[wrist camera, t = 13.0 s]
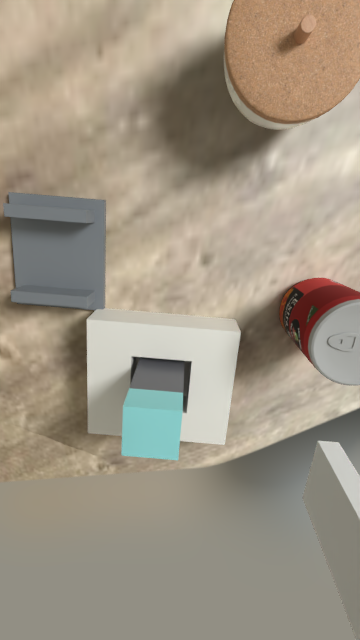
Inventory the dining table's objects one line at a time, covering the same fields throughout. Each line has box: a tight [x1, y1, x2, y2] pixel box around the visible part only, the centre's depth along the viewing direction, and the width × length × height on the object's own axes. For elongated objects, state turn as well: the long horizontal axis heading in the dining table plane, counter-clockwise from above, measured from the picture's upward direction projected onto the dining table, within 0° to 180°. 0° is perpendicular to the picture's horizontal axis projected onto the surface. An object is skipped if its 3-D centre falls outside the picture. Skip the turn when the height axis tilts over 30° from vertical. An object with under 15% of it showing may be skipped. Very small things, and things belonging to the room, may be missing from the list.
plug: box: [122, 357, 184, 460], centre depth 34 cm, size 5×5×12 cm
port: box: [87, 308, 241, 445], centre depth 38 cm, size 16×14×4 cm
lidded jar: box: [224, 0, 360, 130], centre depth 26 cm, size 11×11×9 cm
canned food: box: [279, 278, 360, 385], centre depth 32 cm, size 8×8×11 cm
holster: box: [3, 192, 106, 310], centre depth 35 cm, size 10×12×4 cm
